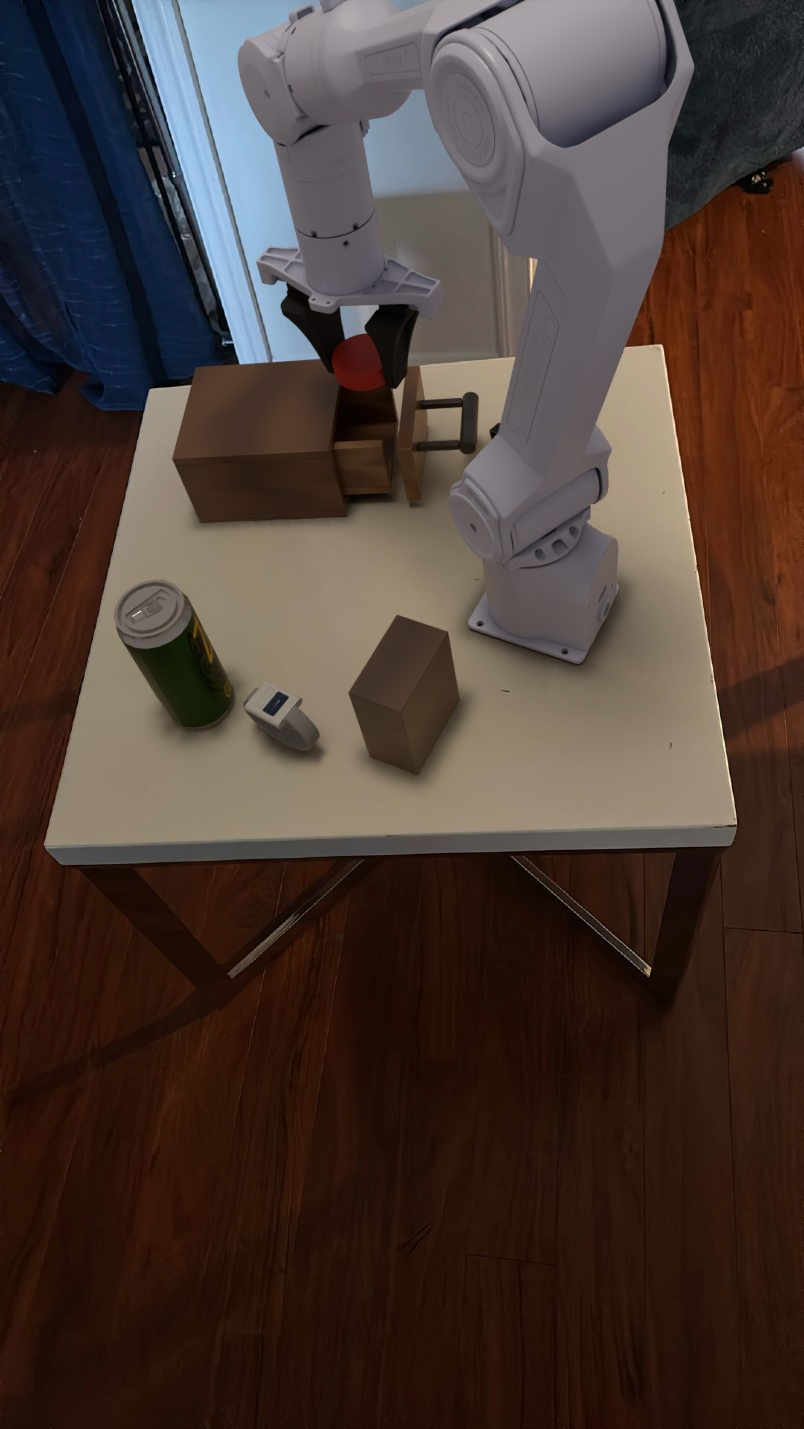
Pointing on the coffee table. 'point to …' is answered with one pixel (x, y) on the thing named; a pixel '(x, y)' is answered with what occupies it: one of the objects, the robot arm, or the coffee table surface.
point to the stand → (406, 693)
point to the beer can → (174, 653)
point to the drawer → (393, 435)
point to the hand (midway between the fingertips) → (367, 372)
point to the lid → (358, 364)
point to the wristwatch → (281, 716)
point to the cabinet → (261, 442)
